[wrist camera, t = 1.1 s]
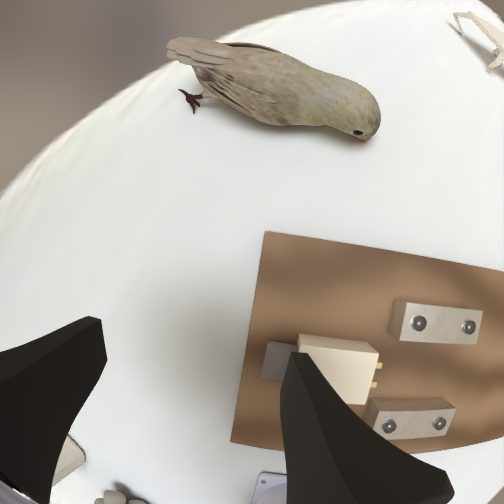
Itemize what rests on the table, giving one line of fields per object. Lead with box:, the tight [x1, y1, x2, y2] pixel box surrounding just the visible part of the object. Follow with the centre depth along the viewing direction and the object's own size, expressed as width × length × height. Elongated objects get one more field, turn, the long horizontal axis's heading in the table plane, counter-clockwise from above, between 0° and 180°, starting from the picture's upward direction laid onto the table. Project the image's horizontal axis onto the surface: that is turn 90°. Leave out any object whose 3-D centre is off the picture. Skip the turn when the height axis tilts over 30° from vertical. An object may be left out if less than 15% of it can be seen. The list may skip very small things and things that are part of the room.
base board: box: [230, 231, 504, 454], centre depth 18 cm, size 17×29×1 cm, turn 81°
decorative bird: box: [167, 36, 381, 140], centre depth 18 cm, size 5×16×8 cm, turn 70°
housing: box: [363, 299, 483, 440], centre depth 17 cm, size 10×7×3 cm
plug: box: [261, 333, 383, 405], centre depth 17 cm, size 8×4×3 cm, turn 81°
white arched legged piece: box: [453, 11, 504, 73], centre depth 17 cm, size 12×8×5 cm
